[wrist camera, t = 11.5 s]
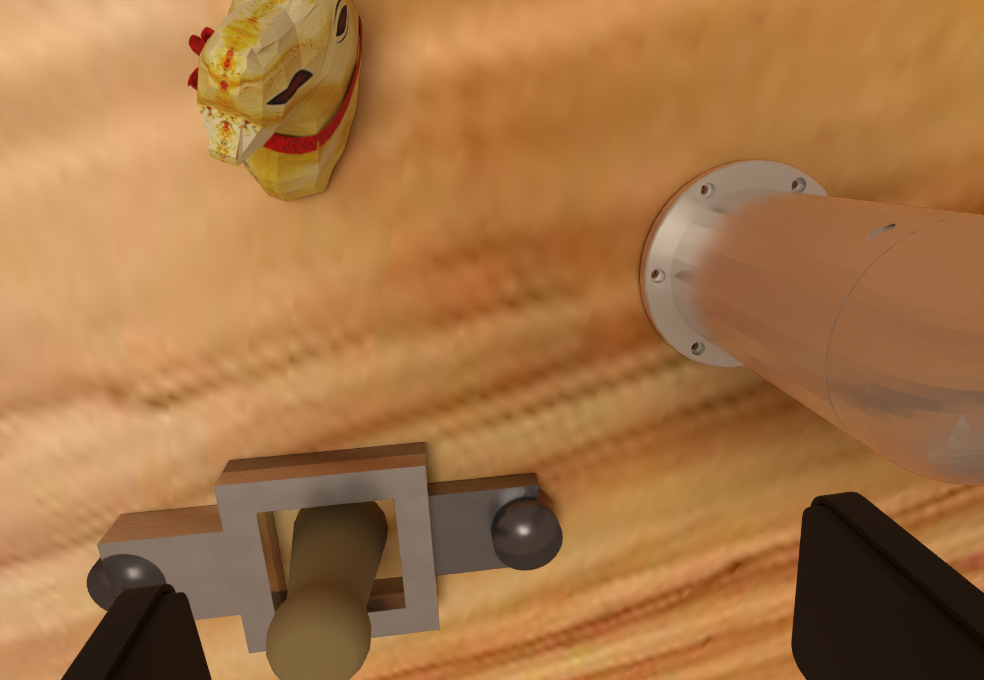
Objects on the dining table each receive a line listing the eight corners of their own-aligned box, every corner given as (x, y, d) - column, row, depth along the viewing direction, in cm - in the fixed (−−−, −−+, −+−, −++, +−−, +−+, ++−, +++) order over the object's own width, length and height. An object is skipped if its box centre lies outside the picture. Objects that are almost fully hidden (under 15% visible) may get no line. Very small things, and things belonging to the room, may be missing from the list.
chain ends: (551, 430, 40) (561, 452, 37) (553, 583, 43) (563, 614, 40) (88, 473, 37) (61, 501, 34) (133, 633, 40) (111, 670, 38)
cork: (358, 582, 41) (338, 729, 31) (276, 545, 40) (226, 686, 29) (405, 515, 40) (401, 643, 30) (323, 474, 39) (288, 594, 28)
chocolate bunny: (392, 7, 31) (372, -109, 17) (331, 212, 34) (270, 260, 20) (257, -51, 30) (112, -231, 16) (205, 168, 32) (40, 185, 18)
